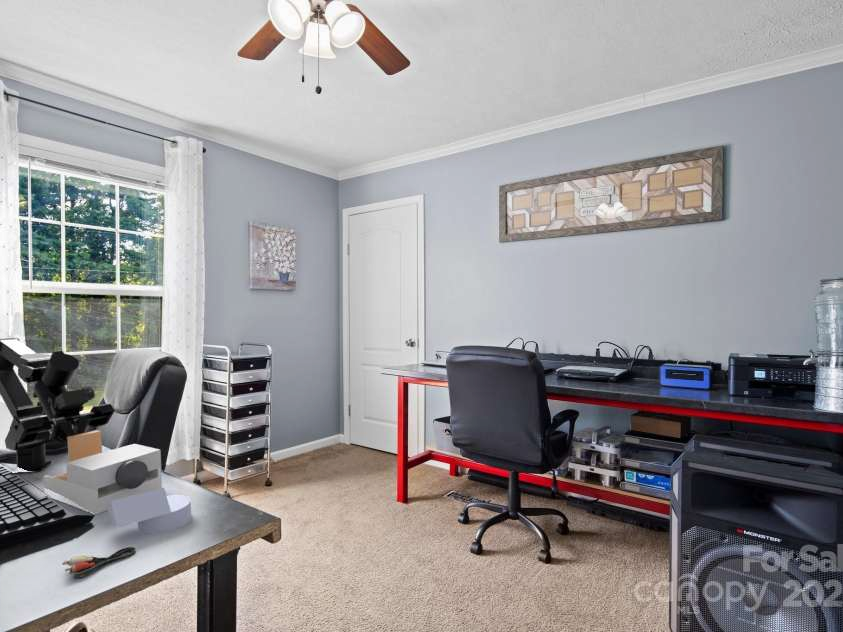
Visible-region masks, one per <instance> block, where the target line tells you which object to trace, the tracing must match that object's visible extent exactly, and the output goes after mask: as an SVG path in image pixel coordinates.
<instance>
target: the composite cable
mask: <svg viewBox="0 0 843 632" xmlns="http://www.w3.org/2000/svg"><path fill="white" fill-rule="evenodd" d="M135 553H136V547H133V546H132V547H131V546H128V547H124V548H120V549H118V550H117V551H115V552H114V553H112V554H111V555H109V556H107V557H97V556H87V555H79V556H73V557H71V558H70V559H69V560H64V561H63V562H62V564H61V565H63V566H64V565H65V566H66V565H68V567H67V568H65V569H64V571H65V572H67V571H68V572H69V574H73V575H74V576H73V577H74V579H75V580H78V579H81V578H84V577H85V576H89V575H91V574H93V573H94V572H96V571H97V570H99V569H101V568H103V567H105V566H107V565H111V564H113V563H116V562H119V561H121V560H124V559H127V558H129V557H132V556H133V555H134V554H135Z"/></svg>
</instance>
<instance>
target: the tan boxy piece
mask: <svg viewBox="0 0 843 632" xmlns="http://www.w3.org/2000/svg"><path fill="white" fill-rule="evenodd" d="M67 440H68V452H67V456H68V457H67V458H68V462H70V461H74V460H78V459H81V458H85V457H88V456H92V455H96V454H99V453H103V444H102V440H103V439H102V431H101V430H98V429H97V430H96V429H95V430H92V431H87V432H86V431H85V433H82V434H78V435H74V436H69V437H67ZM54 477H56V478H59V479H62V480H65V481H67V472H66V473H63V474H60V475H59V474H58V475H56V476H54Z"/></svg>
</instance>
